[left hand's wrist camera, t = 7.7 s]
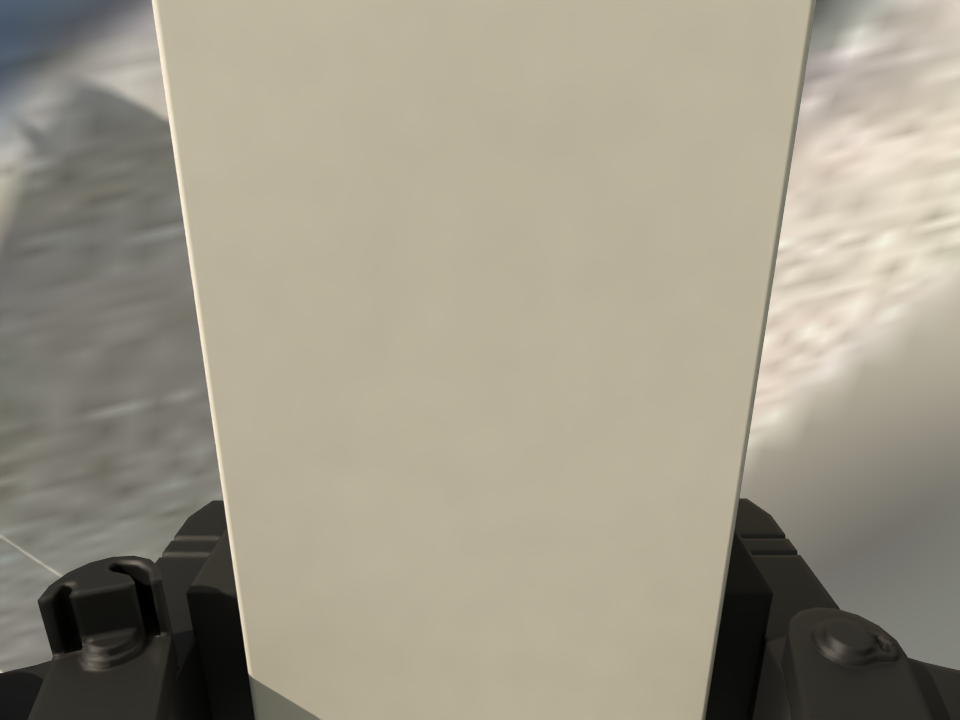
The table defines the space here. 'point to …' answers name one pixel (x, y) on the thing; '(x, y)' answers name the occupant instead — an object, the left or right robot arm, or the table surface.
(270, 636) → the bar
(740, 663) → the left robot arm
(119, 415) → the table surface
